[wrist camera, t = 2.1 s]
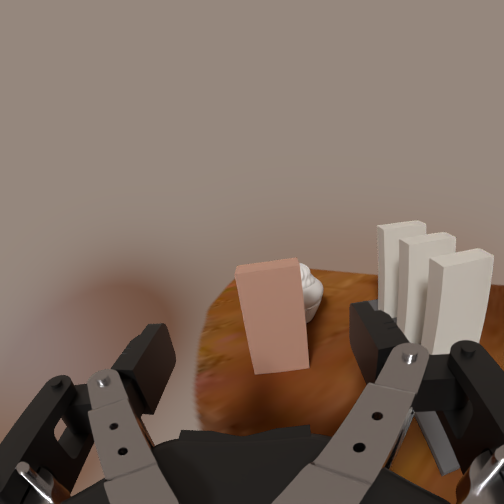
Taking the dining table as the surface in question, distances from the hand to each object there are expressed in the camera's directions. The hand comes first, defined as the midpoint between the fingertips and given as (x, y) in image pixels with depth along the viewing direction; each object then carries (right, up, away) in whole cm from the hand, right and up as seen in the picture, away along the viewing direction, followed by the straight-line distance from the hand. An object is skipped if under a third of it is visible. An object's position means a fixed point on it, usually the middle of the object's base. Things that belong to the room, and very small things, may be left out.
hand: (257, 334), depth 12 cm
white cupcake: (+5, -5, +22) cm, 23 cm away
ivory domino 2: (+16, -5, +12) cm, 21 cm away
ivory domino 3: (+16, -6, +7) cm, 19 cm away
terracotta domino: (+3, -7, +14) cm, 16 cm away
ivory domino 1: (+17, -3, +17) cm, 24 cm away
